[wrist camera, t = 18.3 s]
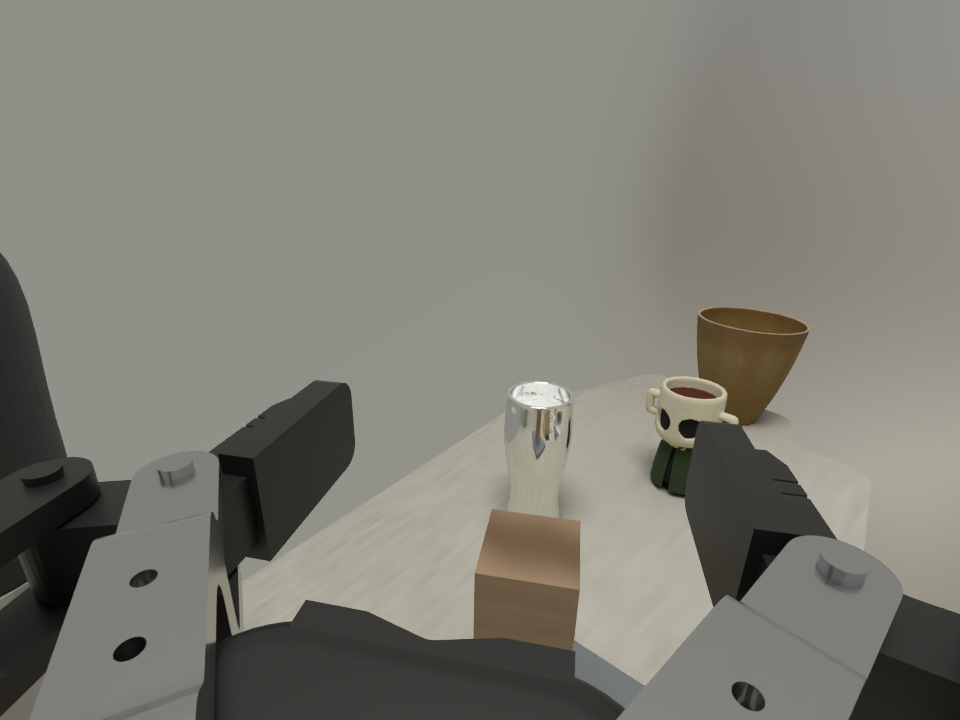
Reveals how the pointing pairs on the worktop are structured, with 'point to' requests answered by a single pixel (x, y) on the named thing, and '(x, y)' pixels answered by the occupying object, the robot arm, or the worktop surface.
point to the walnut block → (528, 579)
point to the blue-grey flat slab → (605, 676)
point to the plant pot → (747, 355)
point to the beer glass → (537, 445)
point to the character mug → (682, 424)
